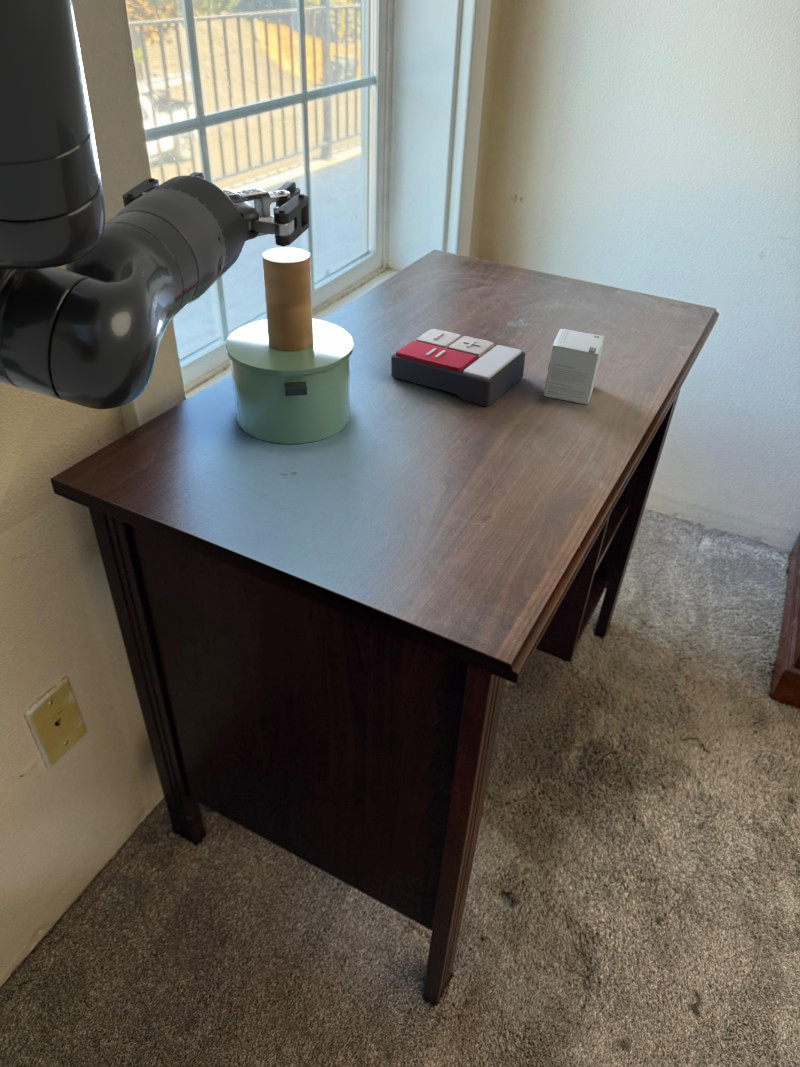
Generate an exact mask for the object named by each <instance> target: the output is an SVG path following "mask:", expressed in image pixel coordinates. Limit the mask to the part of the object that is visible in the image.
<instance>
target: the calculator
mask: <svg viewBox="0 0 800 1067" xmlns="http://www.w3.org/2000/svg"><path fill="white" fill-rule="evenodd" d="M390 359H391V360H390V365H391V366H390V369H391V372H390V373H391V374H390V375H391V377H393V378H395V379H399V380H403V381H407V382H411V383H414V384H418V385H421V386H425V387H429V388H432V389H436V390H440V391H443V392H448V393H450V394H455V395H457V396H458V397H459V399H461V400H462V401H464V402H468V403H471V404H476V405H479V406H484V407H490V406H491V405H492V404H493V403H494V402H496V400H498V399H499V398H501V396H502V395H503V394H505V393H506V392H507V391H508V390H509V389H511V388H512V387H513V386H514V385H515V384H516V383H517V382H518V381H520V380H521V379H522V378H523V377H524V370H525V361H526V352H525V351H522V349H519V348H514V347H511V346H506V345H502V344H497V345H496V344H495V342H493V341H490V340H485V339H482V338H476V337H472V336H469V335H464V336H462V335H461V334H460V333H454V332H452V331H447V330H442V329H438V328H431V329H429V330H428V331H426V332H424V333H423V334H421V335H419V336H418V337H417V338H416V339H415V340H412V341H410V342H409V343H407V344H406V345H404V346H402V347H400V348H399V349H397V350H395V353H394V354H392V355H391V356H390Z"/></svg>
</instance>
